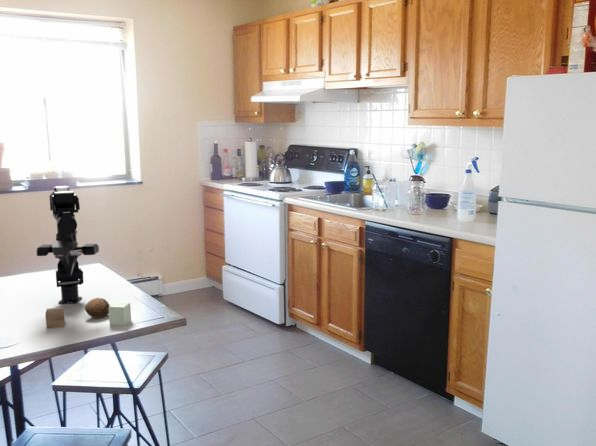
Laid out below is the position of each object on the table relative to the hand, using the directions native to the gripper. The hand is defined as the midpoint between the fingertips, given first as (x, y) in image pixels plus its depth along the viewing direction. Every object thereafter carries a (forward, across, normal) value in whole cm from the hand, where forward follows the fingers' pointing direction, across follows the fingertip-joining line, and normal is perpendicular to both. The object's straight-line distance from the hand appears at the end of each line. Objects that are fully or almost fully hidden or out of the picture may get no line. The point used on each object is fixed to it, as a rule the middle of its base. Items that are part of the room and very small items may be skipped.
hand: (69, 274), depth 196 cm
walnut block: (+13, -1, -13) cm, 18 cm away
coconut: (+13, +10, -5) cm, 17 cm away
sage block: (+13, +19, -12) cm, 26 cm away
